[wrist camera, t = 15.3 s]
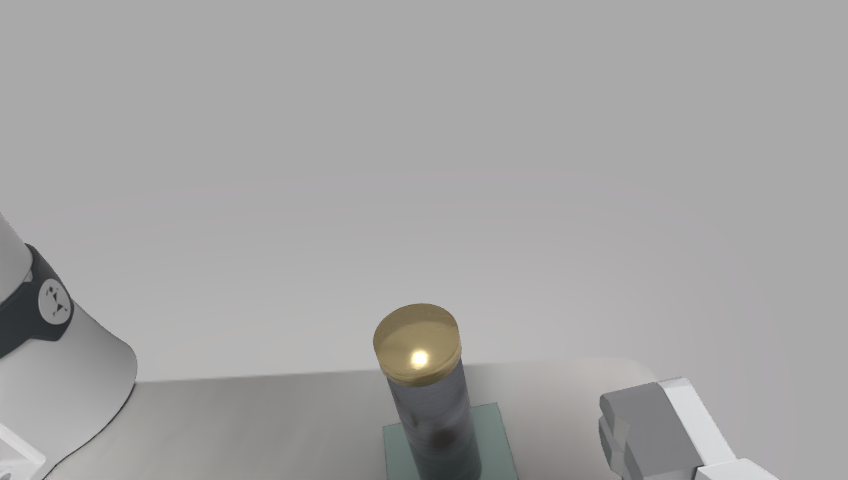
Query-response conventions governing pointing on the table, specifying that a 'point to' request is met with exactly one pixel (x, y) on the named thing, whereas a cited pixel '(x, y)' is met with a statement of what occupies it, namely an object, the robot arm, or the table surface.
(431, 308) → the pepper mill
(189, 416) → the table surface
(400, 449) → the mat
